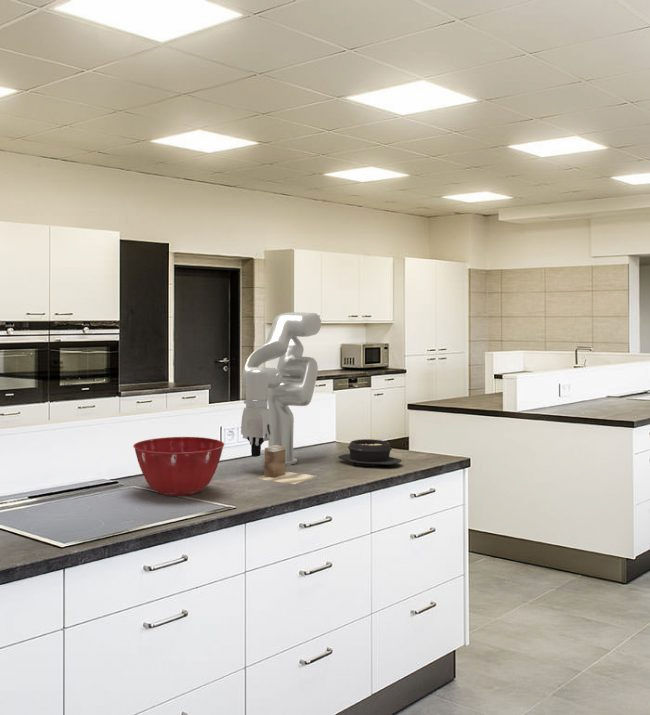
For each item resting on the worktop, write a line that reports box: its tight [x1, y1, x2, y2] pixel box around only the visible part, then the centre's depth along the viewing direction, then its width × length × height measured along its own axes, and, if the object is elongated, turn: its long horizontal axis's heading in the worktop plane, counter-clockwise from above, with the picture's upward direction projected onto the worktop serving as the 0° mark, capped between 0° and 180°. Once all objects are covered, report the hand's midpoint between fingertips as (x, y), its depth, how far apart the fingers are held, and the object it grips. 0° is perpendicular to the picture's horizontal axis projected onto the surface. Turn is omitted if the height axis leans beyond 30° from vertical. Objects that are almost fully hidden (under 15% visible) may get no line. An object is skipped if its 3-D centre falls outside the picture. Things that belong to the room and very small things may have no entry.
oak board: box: [254, 471, 318, 485], centre depth 285 cm, size 16×16×1 cm
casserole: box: [337, 438, 402, 467], centre depth 315 cm, size 25×19×8 cm
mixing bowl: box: [132, 436, 225, 497], centre depth 262 cm, size 28×28×16 cm
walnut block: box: [263, 445, 286, 478], centre depth 287 cm, size 4×7×10 cm, turn 150°
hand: (255, 455), depth 290 cm, fingers closed
